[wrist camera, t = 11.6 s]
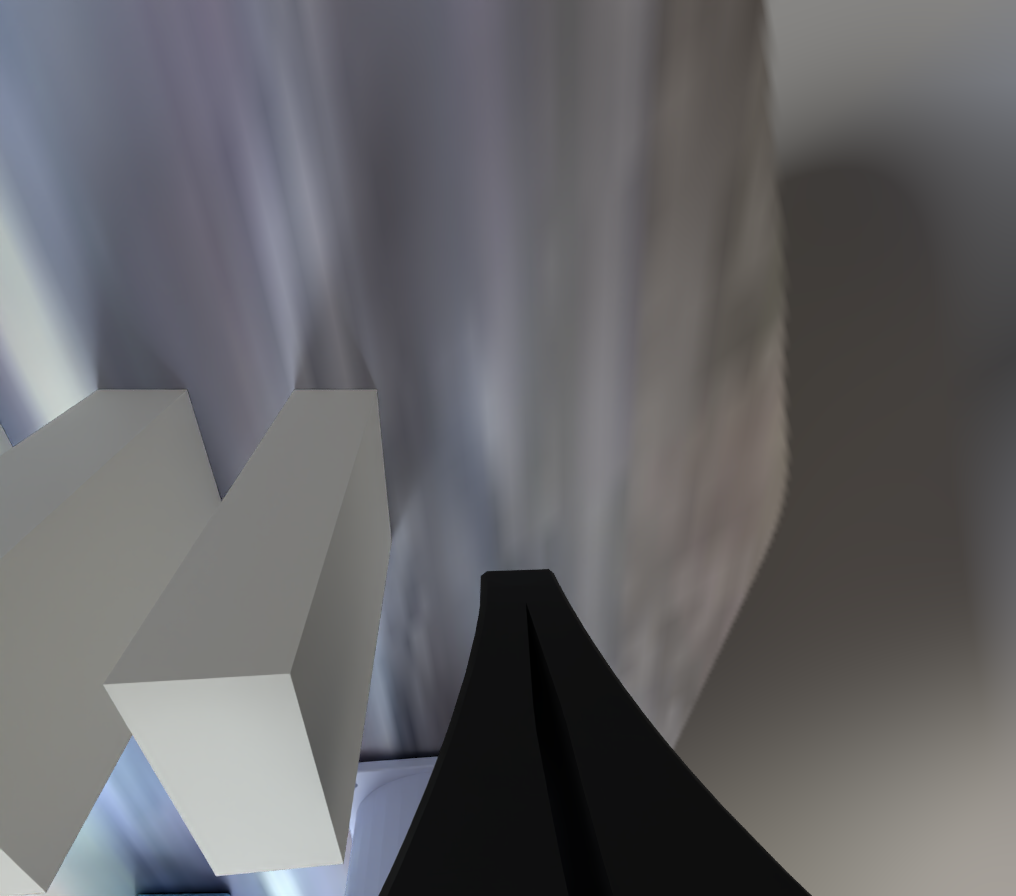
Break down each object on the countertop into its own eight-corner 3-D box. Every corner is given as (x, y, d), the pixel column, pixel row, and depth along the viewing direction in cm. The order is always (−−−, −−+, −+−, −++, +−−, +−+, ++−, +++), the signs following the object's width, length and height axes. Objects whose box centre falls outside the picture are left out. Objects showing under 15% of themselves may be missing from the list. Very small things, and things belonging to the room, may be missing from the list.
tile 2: (235, 546, 15) (46, 893, 8) (162, 548, 14) (-97, 906, 8) (187, 389, 12) (-156, 699, 5) (98, 389, 12) (-377, 712, 5)
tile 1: (391, 541, 15) (343, 863, 8) (323, 543, 15) (216, 876, 8) (376, 389, 13) (290, 673, 6) (294, 389, 12) (103, 684, 6)
